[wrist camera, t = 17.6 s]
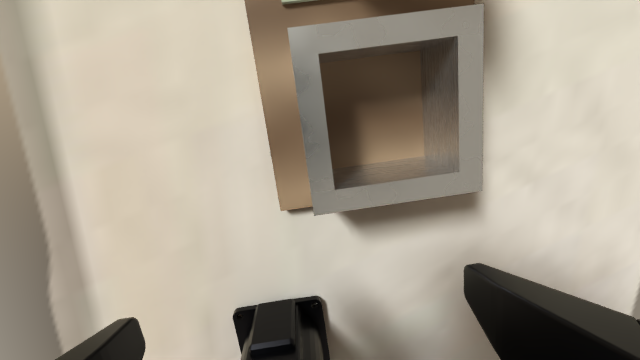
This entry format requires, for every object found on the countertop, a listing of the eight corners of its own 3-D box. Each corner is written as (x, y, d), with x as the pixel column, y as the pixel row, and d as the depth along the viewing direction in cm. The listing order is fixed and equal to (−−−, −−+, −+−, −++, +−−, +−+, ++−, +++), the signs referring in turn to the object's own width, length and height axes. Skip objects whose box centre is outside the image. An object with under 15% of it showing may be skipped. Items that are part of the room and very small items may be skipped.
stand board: (466, 178, 22) (477, 184, 21) (281, 205, 21) (280, 213, 20) (464, -230, 16) (479, -259, 15) (211, -206, 16) (203, -234, 14)
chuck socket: (443, 171, 21) (482, 191, 16) (310, 190, 20) (314, 215, 16) (439, 25, 18) (483, 3, 14) (289, 44, 18) (287, 27, 14)
